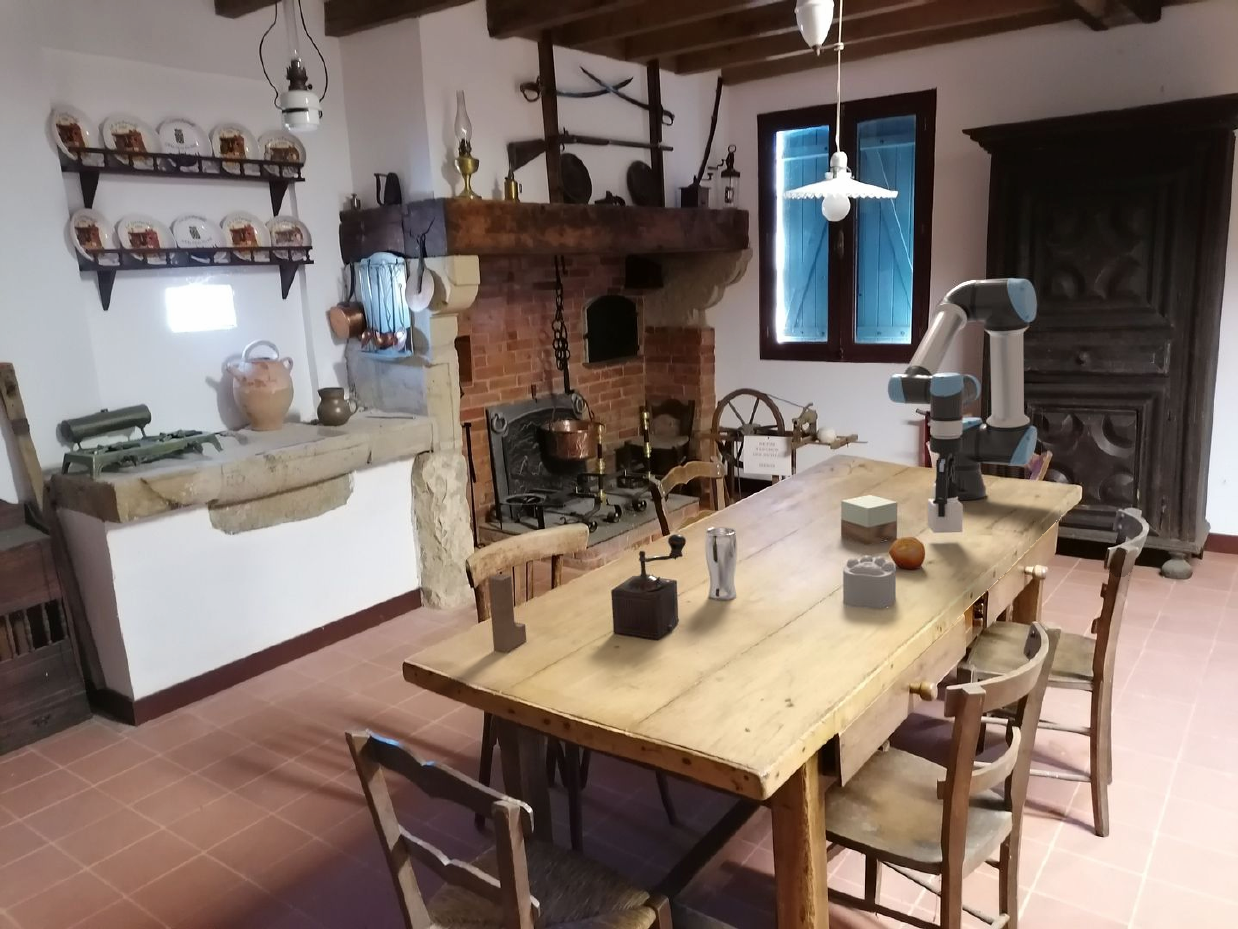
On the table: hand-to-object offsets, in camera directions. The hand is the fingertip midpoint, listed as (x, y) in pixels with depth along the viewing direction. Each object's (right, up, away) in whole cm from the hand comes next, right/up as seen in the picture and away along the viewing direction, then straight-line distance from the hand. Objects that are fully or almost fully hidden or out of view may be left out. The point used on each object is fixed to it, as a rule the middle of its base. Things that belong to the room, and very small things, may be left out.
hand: (944, 523), depth 233 cm
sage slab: (-17, 0, +8) cm, 19 cm away
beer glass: (-60, -15, -29) cm, 68 cm away
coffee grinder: (-75, -18, -43) cm, 89 cm away
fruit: (-14, -10, -16) cm, 24 cm away
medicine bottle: (0, -2, 0) cm, 2 cm away
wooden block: (-104, -21, -50) cm, 118 cm away
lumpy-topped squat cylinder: (-28, -14, -34) cm, 47 cm away
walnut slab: (-17, -5, +9) cm, 20 cm away
